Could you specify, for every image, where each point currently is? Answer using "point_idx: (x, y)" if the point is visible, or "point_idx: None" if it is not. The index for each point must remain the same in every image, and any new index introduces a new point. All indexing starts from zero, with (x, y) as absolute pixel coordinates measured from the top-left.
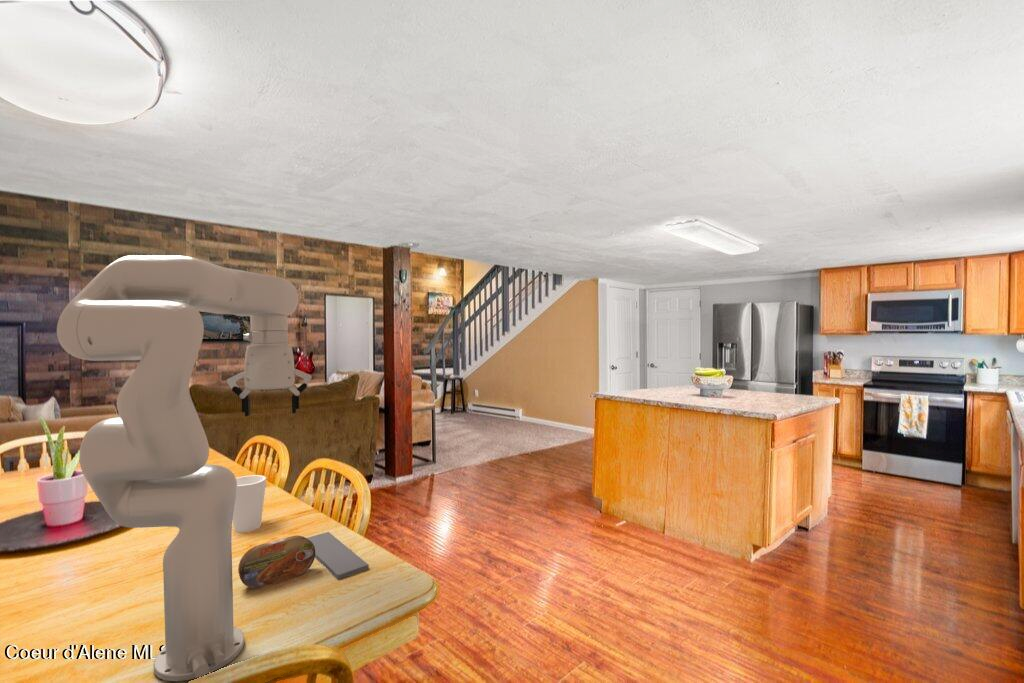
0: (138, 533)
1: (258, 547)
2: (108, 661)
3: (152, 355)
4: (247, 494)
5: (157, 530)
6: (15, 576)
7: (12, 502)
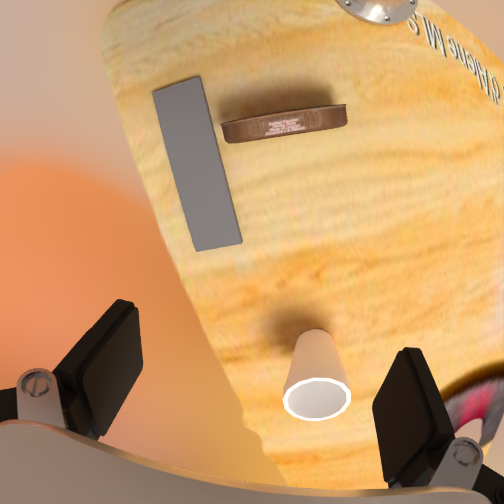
0: None
1: (318, 114)
2: (459, 40)
3: None
4: (319, 365)
5: None
6: None
7: None
